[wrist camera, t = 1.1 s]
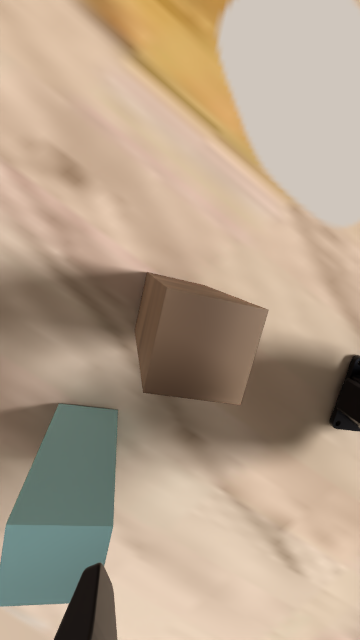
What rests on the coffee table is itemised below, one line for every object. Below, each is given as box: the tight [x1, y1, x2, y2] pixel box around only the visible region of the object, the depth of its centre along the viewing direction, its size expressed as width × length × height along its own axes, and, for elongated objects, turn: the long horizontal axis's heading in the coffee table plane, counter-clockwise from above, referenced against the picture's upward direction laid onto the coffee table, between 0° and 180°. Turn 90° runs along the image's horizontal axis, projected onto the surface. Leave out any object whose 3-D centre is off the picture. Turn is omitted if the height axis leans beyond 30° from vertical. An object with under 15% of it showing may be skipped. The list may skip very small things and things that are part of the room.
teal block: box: [0, 404, 118, 606], centre depth 16 cm, size 4×4×9 cm
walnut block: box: [135, 272, 268, 405], centre depth 15 cm, size 4×4×9 cm
